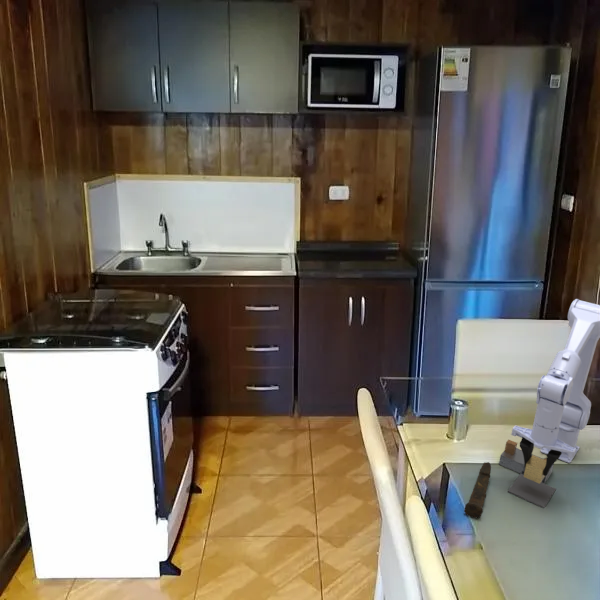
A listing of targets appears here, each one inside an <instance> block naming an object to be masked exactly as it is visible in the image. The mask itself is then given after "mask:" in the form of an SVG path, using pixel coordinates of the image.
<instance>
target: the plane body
mask: <svg viewBox="0 0 600 600" xmlns="http://www.w3.org/2000/svg"><path fill="white" fill-rule="evenodd" d="M532 455H534V456H536V457H539V458H541V459H544V460H546V461H547V457H545V458H542V457H540V456H537V455H535V454H533V453H532ZM498 465H500V466H502V467H504V468H506V469H509V470H511V471H514V472H516V473H518V474H519V475H520V474H523V475H524V473H525V467H524V456H523V452H522V450H521V448H520V449H519V448H518V442H516V441H513V440H511V439H507V441H506V442H505V448H504V450H503V452H502V453H501V454H500V456H499V461H498ZM554 465H555V463H554V464H553V465H552V466H551V468H550V470H549V473H548V474H547V476H545V477H544V479H543V480H542V483H544V484H546V482H547V481H548V479H549V477H551V475H552V472H553V469H554Z"/></svg>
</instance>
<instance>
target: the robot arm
mask: <svg viewBox="0 0 600 600" xmlns="http://www.w3.org/2000/svg"><path fill="white" fill-rule="evenodd" d="M567 320H568V326H569V327H570V328H571V330H570V332H569V335H568V338H567V340H566V343H565V347H564V348H563V349H562V350H559V351H558V352H556V354H555V356H554V358H553V360H552V363H551V365H550V367H549V369H548V370H547V373H546V375H544V374H543V375H542V376H541V377H540V379H539V382H538V385H537V388H536V401H535V403H536V404H537V405H536V409H535V415H534V420H533V424H532V429H531V428H527V427H523V426H519V425H516V424H515V425H514V426H513V427H512V430H511V434H510V435H511V436H514V437H519V438H521V441H520V442H519V447H520V450H522V452H523V456H524V467H525V468H526V463H527V462H528V461H529V459H530V458H531V457H532V454H533V451H534V448H537V449H540V453H542V454H545V455H546V458H547V461H546V466H545V469H544V474H543V475H544V476H547V474H548V473H549V470H550V468H551V466H552V465H553V464H554V465H555V463H556V462H557V461H558V460H560V461H562V462H565V463H567V464H570V463H572V461H573V459H574V457H576V455H577V453H578V451H579V449H580V445H577V444H578V443H577V442H578V439H579V435H580V431H582V430H585V428H586V426H587V424H588V422H589V419H590V417H591V416H590V414H591V407H592V402H591V400H590V399H589V398H588V397H587V396H586V395H585V394H584V389H585V386H586V383H587V379H588V377H589V376H588V375H589V372H590V369H591V365H592V362H593V359H594V354H595V352H596V347H597V344H598V341H599V340H600V304H596V303H594V302H588V301H584V300H580V299H579V298H575V299H574V300H573V301H572V302H571V304H570V306H569V309H568V312H567ZM554 465H553V466H554Z"/></svg>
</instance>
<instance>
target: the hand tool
mask: <svg viewBox="0 0 600 600" xmlns="http://www.w3.org/2000/svg"><path fill="white" fill-rule="evenodd" d="M491 473H492V466H491V463H490V462H487V461H486V462H483V463H482V465H481V468H480V469H479V472H478V475H477V478H476V481H475V484H474V486H473V489H472V491H471V494H470V497H469V499H468V502H467V503H466V504H465V505H464V510H463V512H464V513H465V514H466V516H468V517H471V518H475V519H480V518H481V516H482V514H483V512H484V511H483V510H484V509H483V506H484V503H485V499H487V490H488V486H489V483H490V478H491Z"/></svg>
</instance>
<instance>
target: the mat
mask: <svg viewBox="0 0 600 600" xmlns="http://www.w3.org/2000/svg"><path fill="white" fill-rule="evenodd" d="M556 490H557V489H556V488H555V487H553V486H551V485H549V484H546V483H545V484H544V483H542V482H541V483H540V484H539V483H537V482H535V481H532V480H530V479H528V478H525V477H524V475H523V474H520V473H519V475H518V476H517V478H516V479H515V481H513V483H512V485H511V486H510V487H509V488H508V490H507V493H509V494H511V495H514V496H515V497H518V498H520V499H522V500H525V501H527V502H529V503H531V504H533V505H536V506H537V507H540V508H542V509H545V507H546V506H547V505H548V503H549V501H550V500H551V499H552V497H553V495H554V493H555V492H556Z"/></svg>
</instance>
